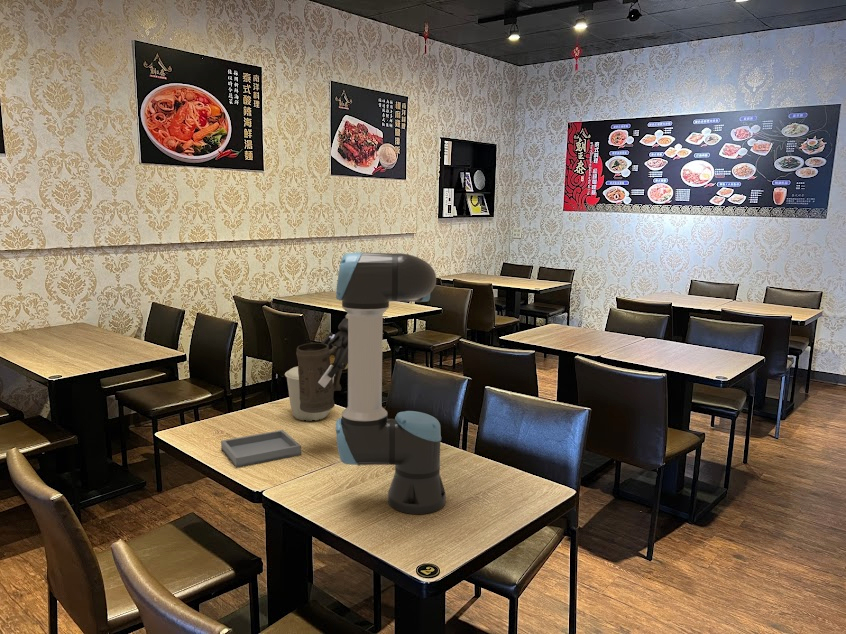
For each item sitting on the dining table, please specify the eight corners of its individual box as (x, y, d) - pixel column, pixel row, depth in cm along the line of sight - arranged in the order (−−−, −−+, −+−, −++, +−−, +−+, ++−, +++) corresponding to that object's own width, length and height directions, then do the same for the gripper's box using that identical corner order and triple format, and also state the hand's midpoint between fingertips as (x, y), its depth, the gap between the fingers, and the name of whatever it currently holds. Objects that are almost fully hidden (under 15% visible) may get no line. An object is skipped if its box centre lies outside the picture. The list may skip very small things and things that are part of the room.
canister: (346, 414, 231) (346, 359, 228) (312, 428, 216) (312, 369, 213) (309, 405, 241) (308, 352, 237) (274, 418, 226) (273, 361, 222)
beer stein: (313, 416, 187) (312, 351, 184) (290, 409, 194) (288, 346, 190) (351, 404, 199) (350, 342, 195) (328, 397, 206) (326, 337, 202)
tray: (301, 454, 193) (301, 445, 193) (236, 468, 183) (236, 458, 182) (282, 438, 207) (282, 429, 206) (221, 449, 196) (221, 440, 195)
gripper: (382, 337, 194) (339, 396, 187) (341, 326, 210) (301, 380, 203) (367, 322, 190) (324, 382, 182) (328, 312, 206) (286, 367, 198)
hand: (312, 381), depth 192 cm, fingers closed on beer stein, 9 cm apart
